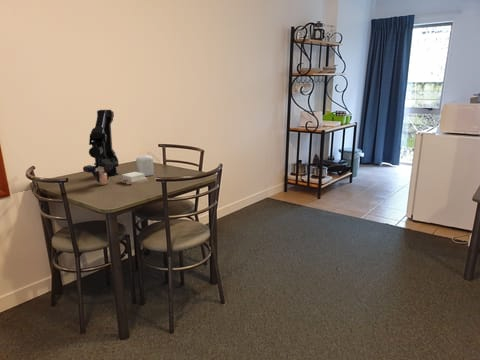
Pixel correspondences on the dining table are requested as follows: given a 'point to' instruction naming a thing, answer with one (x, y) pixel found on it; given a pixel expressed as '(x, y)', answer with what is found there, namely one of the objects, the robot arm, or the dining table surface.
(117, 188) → the dining table surface
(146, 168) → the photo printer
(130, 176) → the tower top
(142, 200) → the dining table surface
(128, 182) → the tower base
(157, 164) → the dining table surface
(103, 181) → the pink small block
